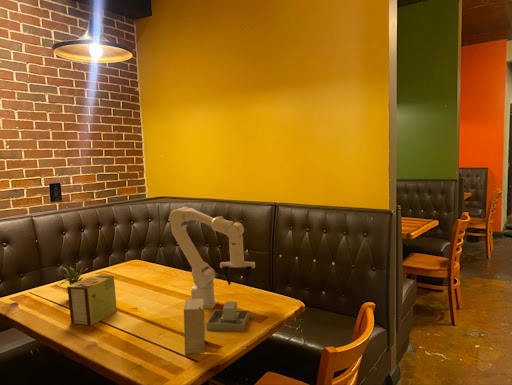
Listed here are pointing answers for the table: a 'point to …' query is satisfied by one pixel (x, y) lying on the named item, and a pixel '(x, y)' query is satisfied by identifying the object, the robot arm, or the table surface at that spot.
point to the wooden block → (231, 321)
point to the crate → (216, 324)
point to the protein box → (92, 299)
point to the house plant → (72, 276)
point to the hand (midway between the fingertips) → (238, 284)
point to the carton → (230, 310)
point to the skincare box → (194, 326)
